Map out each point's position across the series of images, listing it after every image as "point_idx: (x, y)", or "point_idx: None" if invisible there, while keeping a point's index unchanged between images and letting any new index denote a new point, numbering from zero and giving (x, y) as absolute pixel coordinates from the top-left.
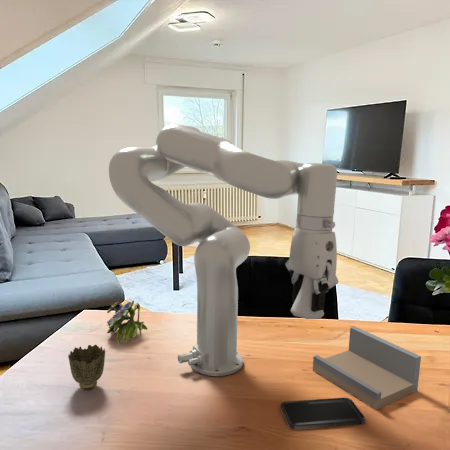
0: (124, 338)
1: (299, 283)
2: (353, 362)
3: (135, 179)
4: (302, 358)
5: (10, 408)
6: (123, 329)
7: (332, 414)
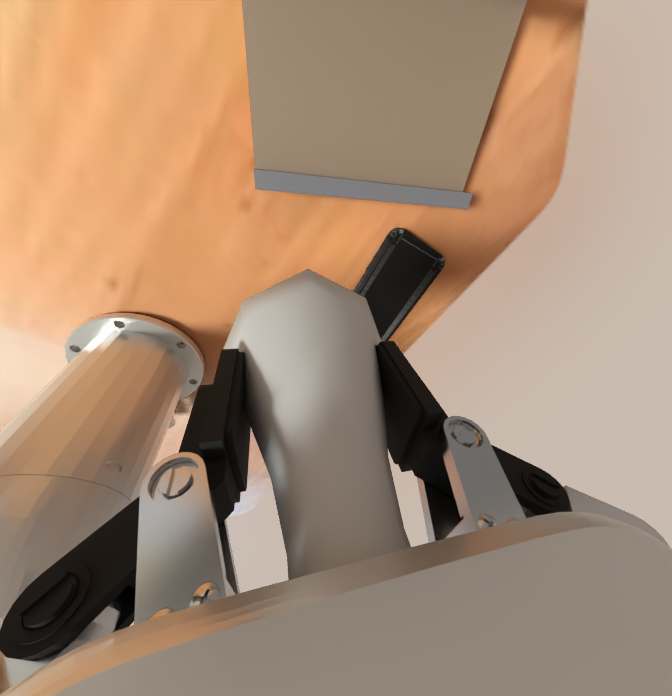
0: None
1: (231, 487)
2: (326, 39)
3: None
4: (178, 148)
5: None
6: None
7: (399, 293)
